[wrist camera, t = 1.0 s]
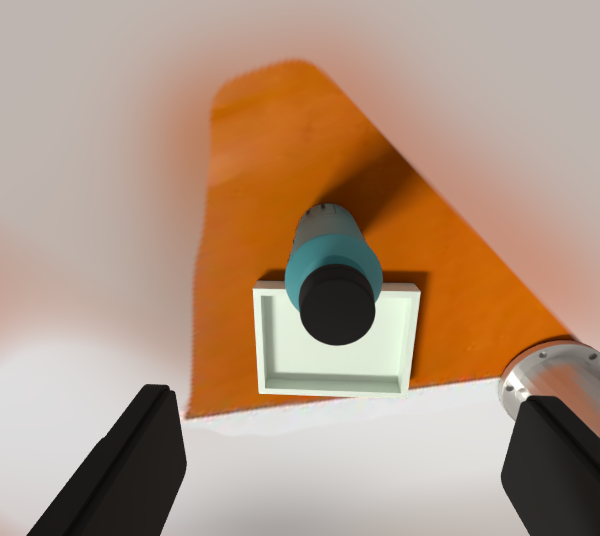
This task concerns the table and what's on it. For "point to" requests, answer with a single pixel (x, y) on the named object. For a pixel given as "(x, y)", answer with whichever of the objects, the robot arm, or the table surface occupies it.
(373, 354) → the tray
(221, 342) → the table surface
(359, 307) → the beverage bottle
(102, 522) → the robot arm
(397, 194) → the table surface
